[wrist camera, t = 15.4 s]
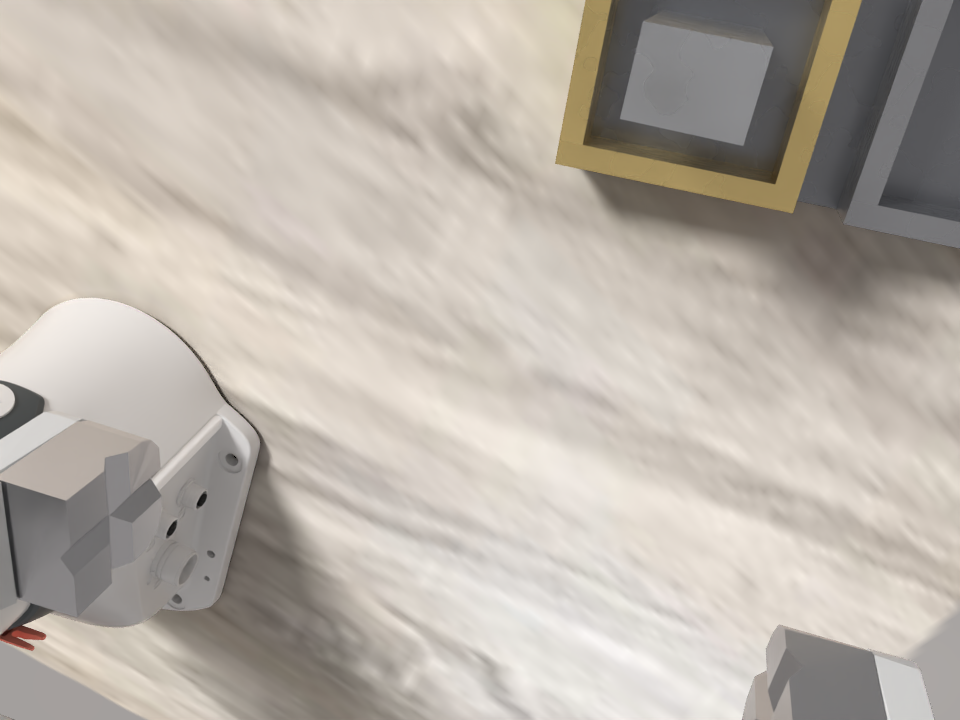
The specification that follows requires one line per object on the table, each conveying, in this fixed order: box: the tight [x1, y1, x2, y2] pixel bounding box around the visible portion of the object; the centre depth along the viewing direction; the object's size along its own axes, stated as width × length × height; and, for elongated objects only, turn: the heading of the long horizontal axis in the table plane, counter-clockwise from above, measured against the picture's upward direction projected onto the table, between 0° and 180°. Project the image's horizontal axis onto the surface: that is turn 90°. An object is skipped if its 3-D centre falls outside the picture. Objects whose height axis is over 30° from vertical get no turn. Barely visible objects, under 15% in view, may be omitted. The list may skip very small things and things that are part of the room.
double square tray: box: [555, 0, 960, 248], centre depth 33 cm, size 10×22×4 cm, turn 81°
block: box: [620, 10, 773, 146], centre depth 31 cm, size 3×4×10 cm
